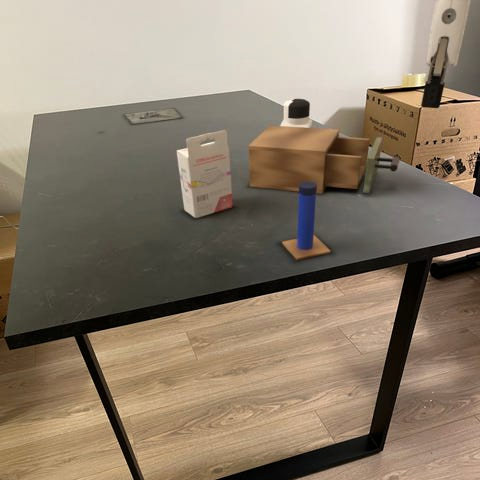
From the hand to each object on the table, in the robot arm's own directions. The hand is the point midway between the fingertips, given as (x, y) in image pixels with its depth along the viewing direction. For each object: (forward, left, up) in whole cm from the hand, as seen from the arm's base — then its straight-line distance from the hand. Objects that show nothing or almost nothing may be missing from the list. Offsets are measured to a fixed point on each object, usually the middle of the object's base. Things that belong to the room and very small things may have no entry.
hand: (430, 106), depth 86 cm
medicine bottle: (+29, -16, -16) cm, 37 cm away
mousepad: (+84, -35, -16) cm, 92 cm away
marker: (+15, +30, -15) cm, 37 cm away
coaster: (+15, +30, -16) cm, 37 cm away
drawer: (+13, 0, -15) cm, 20 cm away
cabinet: (+25, 0, -16) cm, 30 cm away
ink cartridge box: (+37, +20, -16) cm, 45 cm away
